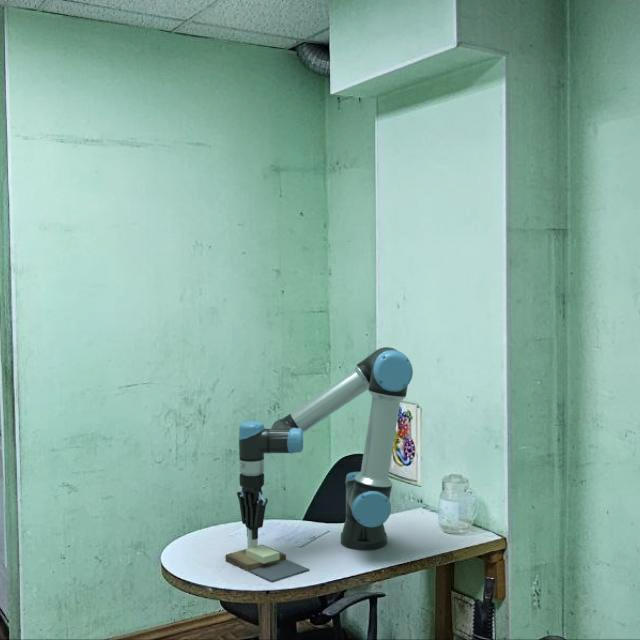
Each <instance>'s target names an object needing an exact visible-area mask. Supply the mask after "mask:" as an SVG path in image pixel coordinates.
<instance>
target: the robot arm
mask: <svg viewBox="0 0 640 640" xmlns="http://www.w3.org/2000/svg"><path fill="white" fill-rule="evenodd" d="M412 365H413V364H412V363H411V361H410V359H409V358H408V356H407V355H406V354H404V353H403V352H402V351H399V350H397V349H395V348H392V347H389V346H388V347H386V346H385V347H380V348H378V349H376V350H375V351H373V352H372V353H371V354H369V355H368V356H367V357H365V358H364V359H363V360H362V361H360V362H359V363H357V364H356V365H355V366H354V369H353V370H352V371H351V372H349V373H348V374H347V375H345V376H344V377H342V378H340V379H339V380H337V381H336V382H334V383H333V384H332V385H331V386H329V387H327V388H325V389H324V390H322V391H321V392H320V393H318V394H317V395H315V396H314V397H313V398H311V399H309V400H307V402H305V403H303V404H302V405H300V406H299V407H298V408H295V410H293V411H292V412H290V413H289V414H287V415H286V416H285V417H283V418H278V419H276V420H275V421H274V422H273V424H272V425H271V427H270V428H265V425H264V422H261V421H255V420H251V421H244V422H242V423H241V424H240V425H239V429H238V430H239V432H238V433H239V434H238V447H239V448H238V451H239V452H238V453H239V472H240V474H239V486H240V487H241V491H238V492H236V495H237V498H238V502H239V509H240V515H241V523H242V524H243V525H245V528H246V537H247V549H249V548H253V547H257V546H259V545H258V543H259V542H258V539H259V529H261V528H263V526H264V522H265V521H264V519H265V514H266V513H265V512H266V506H267V504H268V501H269V500H268V498H264V496H263V490H262V488H263V487H264V486H265V473H264V472H265V454H290V455H291V454H292V455H293V454H296V453H302V452H303V450H304V433H305V432H307V431H308V430H309V429H311V428H313V427H314V426H317V424H319V423H321V421H323V420H324V419H326V418H328V417H329V416H331V415H332V414H334V413H335V412H336V411H338V410H339V409H341V408H342V407H344V406H345V405H348V404H349V403H350V402H351V401H352V400H354V399H356V398H357V397H359V396H360V395H362V394H364V393H365V392H366V391H368V392H369V394H370V395H371V404H370V409H369V411H370V412H369V416H368V417H369V418H368V424H367V430H366V431H367V432H366V435H365V436H366V437H365V441H364V442H365V443H364V449H363V453H362V454H363V456H362V461H361V462H362V463H361V466H360V467H361V468H360V471H353V472H352V471H351V472H348V473H347V474H346V476H345V521H344V523H343V528H342V531H341V533H340V544H341V545H342V546H344V547H346V548H349V549H353V550H354V549H355V550H362V551H363V550H364V551H365V550H375V549H380V548H383V547H385V546H386V545H387V544H388V534H387V532H386V530H385V525H384V523H386V522H387V521H388V519H389V518H390V516H391V511H392V504H391V500H390V499H391V493H392V486H393V483H392V482H391V480H390V479H389V474H390V468H391V467H390V466H391V463H392V462H391V461H392V454H393V449H394V442H395V435H396V429H397V423H398V417H399V412H400V411H399V410H400V405H401V402H402V401H403V400H404V399H405V398H406V397H407V392H408V387H409V384H410V383H411V381H412V378H413V374H414V372H413V371H414V370H413V366H412Z"/></svg>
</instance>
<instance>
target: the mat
mask: <svg viewBox="0 0 640 640" xmlns="http://www.w3.org/2000/svg"><path fill="white" fill-rule="evenodd" d="M309 571H310V568H309V567H305V566H303V565H301V564H298V563H296V562H294V561H292V560H289V559H286V560H284V561H281V562H277V563H274V564H271V565H267V566H264V567H261V568H257V569H254V570H250V572H249V573H250V574H253V575H255V576H257V577H259V578H261V579H264V580H265V581H268V582H270V583H274V582H278V581H280V580H284V579H287V578H291V577H294V576H297V575H299V574H303V573H306V572H309Z"/></svg>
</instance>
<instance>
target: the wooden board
mask: <svg viewBox="0 0 640 640" xmlns="http://www.w3.org/2000/svg"><path fill="white" fill-rule="evenodd" d="M260 545H262V546H265V547H267V548H270V549H272V550H274V551H277V552H279V553H280V559H278V560H275V561H272V562H268V563H265V564H263V563H260V562H258V561H256V560H254V559H251V558H249V557H247V556H246V549H247V548H244V549H242V550H238V551H234V552H231V553H228V554H225V562H226V563H229V564H231V565H233V566H235V567H238V568H240V569H241V570H244V571H246V572H248V573H250V570H254V569H257V568H261V567H264V566H267V565H271V564H274V563H277V562H281V561H284V560H287V554H286V553H284V552H281V551H279V550H276V549H274V548H272V547H269V546H267V545H264V544H259V545H258V546H260Z"/></svg>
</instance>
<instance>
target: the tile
mask: <svg viewBox="0 0 640 640" xmlns="http://www.w3.org/2000/svg"><path fill="white" fill-rule="evenodd" d="M259 545H260V546H259ZM259 545H258V546H257V547H253V548H249V549H248V548H245V549H246V556H247V557H249V558H251V559H254V560H256V561H258V562H260V563H263V564H265V563H268V562H272V561H275V560H278V559H280V553H279V552H280V551H279V552H277V551H278V550H277V551H274V550H275V549H274V550H272V549H273V548H272V549H270V548H271V547H269V548H267V547H268V546H267V547H265V546H266V545H265V546H262V545H263V544H259Z"/></svg>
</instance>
